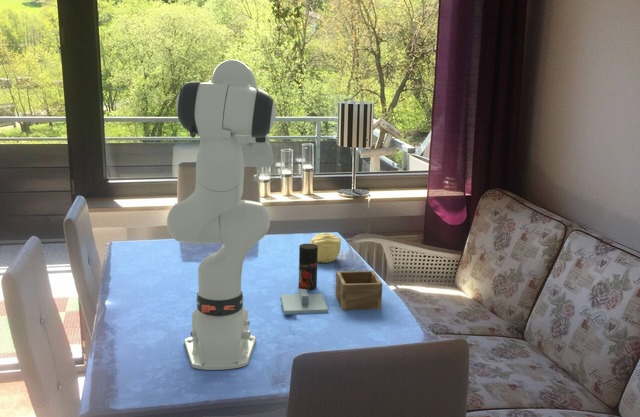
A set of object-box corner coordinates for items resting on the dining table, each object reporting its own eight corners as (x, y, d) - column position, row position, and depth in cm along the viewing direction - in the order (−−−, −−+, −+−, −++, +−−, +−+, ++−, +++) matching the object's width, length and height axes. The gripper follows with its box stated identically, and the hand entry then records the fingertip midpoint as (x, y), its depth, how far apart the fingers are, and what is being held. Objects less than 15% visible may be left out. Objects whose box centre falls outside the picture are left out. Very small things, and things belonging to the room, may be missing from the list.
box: (380, 311, 194) (382, 283, 192) (342, 313, 192) (343, 284, 190) (372, 297, 206) (373, 270, 204) (335, 298, 204) (336, 271, 202)
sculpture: (313, 266, 234) (313, 237, 231) (305, 256, 245) (306, 229, 242) (343, 264, 236) (344, 236, 234) (334, 254, 248) (335, 227, 245)
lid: (327, 316, 191) (328, 299, 189) (284, 317, 189) (284, 301, 187) (321, 299, 203) (321, 284, 202) (280, 301, 201) (280, 285, 200)
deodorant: (320, 289, 211) (321, 246, 207) (307, 294, 206) (308, 250, 203) (307, 285, 215) (308, 242, 211) (294, 289, 210) (295, 245, 207)
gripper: (204, 136, 188) (205, 183, 191) (274, 137, 191) (274, 182, 194) (205, 134, 194) (206, 178, 197) (273, 134, 197) (272, 178, 200)
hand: (240, 180), depth 196 cm, fingers open, 8 cm apart
